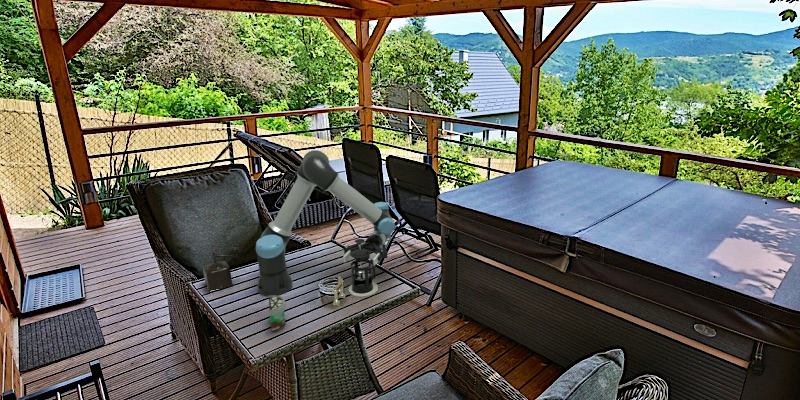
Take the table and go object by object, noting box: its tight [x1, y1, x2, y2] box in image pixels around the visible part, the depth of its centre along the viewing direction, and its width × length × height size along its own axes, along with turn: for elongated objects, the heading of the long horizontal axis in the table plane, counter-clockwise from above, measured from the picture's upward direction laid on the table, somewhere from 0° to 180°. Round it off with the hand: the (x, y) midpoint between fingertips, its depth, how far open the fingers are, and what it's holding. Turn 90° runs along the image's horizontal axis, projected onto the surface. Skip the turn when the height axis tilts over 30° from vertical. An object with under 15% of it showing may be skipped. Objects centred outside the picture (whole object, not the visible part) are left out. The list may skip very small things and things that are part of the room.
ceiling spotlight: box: [332, 275, 346, 307], centre depth 191 cm, size 4×13×7 cm, turn 179°
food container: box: [267, 295, 287, 333], centre depth 173 cm, size 12×6×10 cm, turn 17°
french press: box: [350, 238, 376, 294], centre depth 195 cm, size 12×9×23 cm
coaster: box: [348, 281, 379, 298], centre depth 198 cm, size 13×13×1 cm
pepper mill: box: [202, 246, 240, 291], centre depth 205 cm, size 16×11×18 cm
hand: (359, 260), depth 191 cm, fingers open, 13 cm apart
